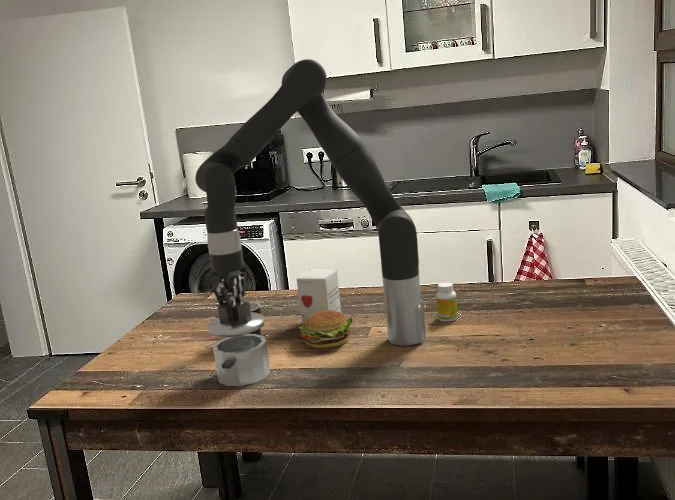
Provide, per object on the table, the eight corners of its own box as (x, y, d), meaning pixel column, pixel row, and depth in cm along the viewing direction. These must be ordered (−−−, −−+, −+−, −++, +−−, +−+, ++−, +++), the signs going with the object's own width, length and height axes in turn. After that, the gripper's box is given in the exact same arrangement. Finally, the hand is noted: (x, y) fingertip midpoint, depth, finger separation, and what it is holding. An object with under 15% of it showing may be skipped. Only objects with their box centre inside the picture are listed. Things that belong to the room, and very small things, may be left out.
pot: (280, 360, 172) (276, 330, 170) (254, 391, 156) (249, 358, 154) (234, 359, 175) (230, 330, 173) (205, 390, 159) (199, 358, 157)
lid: (272, 320, 167) (269, 294, 166) (252, 340, 155) (248, 312, 153) (223, 320, 171) (219, 295, 169) (199, 341, 158) (195, 313, 157)
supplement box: (301, 329, 192) (294, 278, 189) (314, 318, 200) (308, 268, 197) (331, 330, 189) (325, 278, 185) (343, 319, 197) (337, 268, 193)
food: (292, 351, 177) (288, 322, 175) (312, 331, 190) (309, 304, 188) (342, 353, 172) (339, 323, 170) (360, 332, 185) (357, 304, 183)
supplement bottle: (453, 322, 184) (451, 288, 182) (434, 321, 187) (432, 287, 184) (460, 316, 188) (458, 282, 186) (442, 314, 191) (439, 281, 189)
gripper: (227, 256, 151) (239, 330, 155) (251, 241, 164) (261, 309, 168) (197, 257, 153) (208, 330, 157) (222, 242, 166) (233, 310, 170)
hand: (235, 319), depth 162 cm, fingers closed on lid, 2 cm apart
